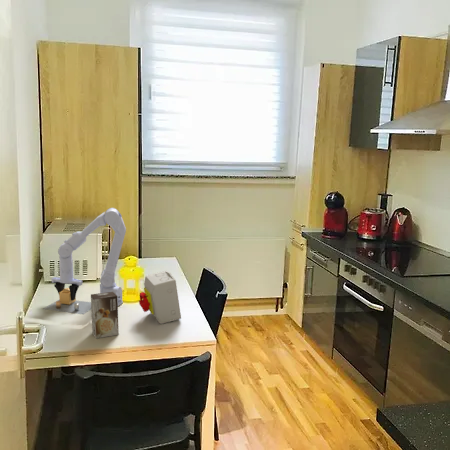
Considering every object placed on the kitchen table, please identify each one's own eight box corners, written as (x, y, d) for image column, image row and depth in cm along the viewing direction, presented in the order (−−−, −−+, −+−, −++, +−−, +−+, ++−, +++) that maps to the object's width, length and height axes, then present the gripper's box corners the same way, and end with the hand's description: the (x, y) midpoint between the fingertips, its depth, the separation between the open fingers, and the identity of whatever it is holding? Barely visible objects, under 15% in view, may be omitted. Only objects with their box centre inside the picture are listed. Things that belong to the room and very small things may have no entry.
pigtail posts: (80, 309, 215) (79, 303, 214) (77, 311, 213) (77, 304, 212) (57, 307, 217) (57, 300, 217) (55, 308, 216) (54, 302, 215)
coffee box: (114, 329, 199) (113, 290, 196) (119, 334, 194) (118, 295, 190) (91, 332, 195) (90, 294, 192) (95, 339, 189) (94, 299, 186)
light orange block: (75, 300, 224) (75, 288, 223) (69, 304, 220) (68, 291, 219) (66, 299, 226) (65, 287, 225) (59, 303, 221) (59, 290, 220)
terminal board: (100, 306, 223) (100, 303, 223) (83, 317, 210) (83, 314, 210) (61, 301, 228) (61, 298, 228) (42, 312, 215) (42, 308, 215)
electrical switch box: (139, 318, 216) (131, 275, 211) (171, 309, 221) (165, 267, 216) (147, 331, 203) (139, 286, 198) (181, 321, 208) (175, 277, 203)
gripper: (85, 269, 222) (86, 297, 224) (57, 266, 226) (58, 294, 228) (77, 273, 215) (78, 303, 218) (48, 270, 219) (49, 299, 221)
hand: (67, 299), depth 222 cm, fingers closed on light orange block, 5 cm apart
